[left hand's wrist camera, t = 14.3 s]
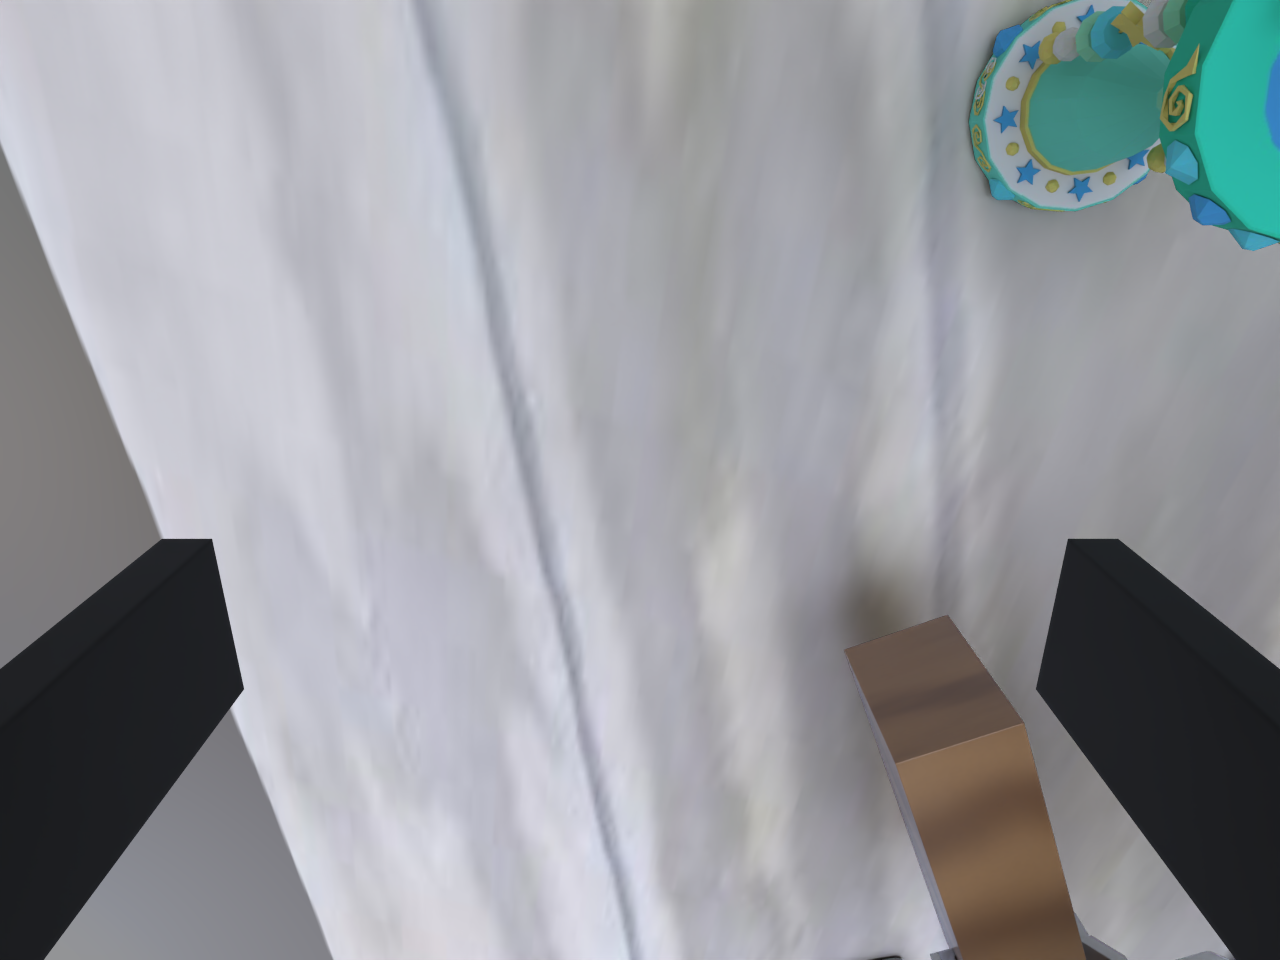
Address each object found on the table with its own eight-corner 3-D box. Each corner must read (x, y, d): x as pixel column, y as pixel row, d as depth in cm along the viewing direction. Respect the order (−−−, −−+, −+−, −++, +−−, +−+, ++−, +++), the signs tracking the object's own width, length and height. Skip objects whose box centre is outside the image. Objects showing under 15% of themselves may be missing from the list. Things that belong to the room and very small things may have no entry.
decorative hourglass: (1217, 87, 42) (2338, -43, 14) (1056, 260, 45) (1718, 429, 18) (1074, -65, 40) (2090, -577, 12) (914, 129, 43) (1422, 84, 15)
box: (843, 649, 46) (895, 763, 37) (947, 614, 45) (1024, 722, 37) (945, 939, 54) (1005, 1085, 46) (1033, 913, 54) (1111, 1056, 45)
